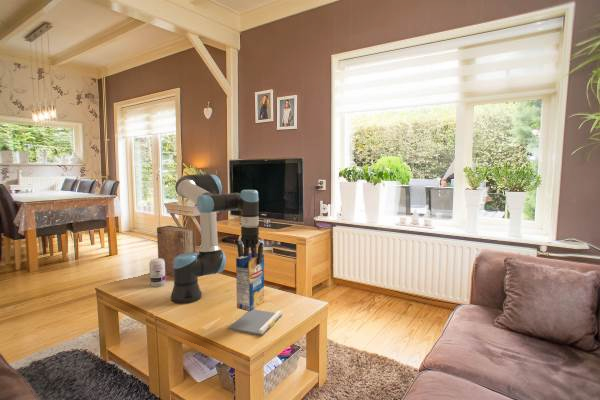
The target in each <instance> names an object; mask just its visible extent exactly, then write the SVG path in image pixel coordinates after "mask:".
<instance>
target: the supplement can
mask: <svg viewBox="0 0 600 400" xmlns="http://www.w3.org/2000/svg"><path fill="white" fill-rule="evenodd" d="M148 267H149V285H150V286H151V287H153V288H160V287H164V286H165V284H166V275H165V261H164V259H162V258H158V257H157V258H153V259H152V258H151V259H150V261H149V266H148Z"/></svg>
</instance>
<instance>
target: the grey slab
mask: <svg viewBox="0 0 600 400" xmlns="http://www.w3.org/2000/svg"><path fill="white" fill-rule="evenodd" d="M282 315H283V314H282V310H279V309H278V310H277V311H276V312H272V311H265V310H261V309H260V310H259V309H256V308H255V309H253V310H251V311H245V313H244V314H243V315H242V316H240V317H239V318H237V320H236V321H234V322H233V323H232V324H230V325H229V326H228V327H227V330H228V331H233V332H239V333H243V334H248V335H253V336H259V337H263V336H264V335H265V334H266V333H267V332H268V331H269V330H270V329H271V328H272V327H273V326H274V325H275V323H277V322H278V321H279V319H280V318H282Z"/></svg>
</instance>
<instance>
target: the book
mask: <svg viewBox="0 0 600 400" xmlns="http://www.w3.org/2000/svg"><path fill="white" fill-rule="evenodd" d="M156 234H157V235H156V241H157V258H162V259H164V261H165V276H168V277H169V276H170V277H172V278H174V268H173V264H174V258H175V257H176V256H178V255H180V254H183V253H188V252H189V253H190V252H195V253H197V252H196V229H195V228H190V227H183V226H175V225H164V226H159V227H157V228H156Z"/></svg>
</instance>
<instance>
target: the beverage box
mask: <svg viewBox="0 0 600 400" xmlns="http://www.w3.org/2000/svg"><path fill="white" fill-rule="evenodd" d="M235 264H236V265H235V266H236V271H235V272H236V273H235V274H236V309H238V310H242V311H245V312H248V311H251V310H253V309H255V310H256V308H258V307H259V306H261V305H263V304H264V303H265V254H264V253H263V254H262V263H260V264H259V265H257V257H255V258H253V257H252V253H251V252H249V255H248V256H246V257H243V256H241V257H236V258H235Z"/></svg>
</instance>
